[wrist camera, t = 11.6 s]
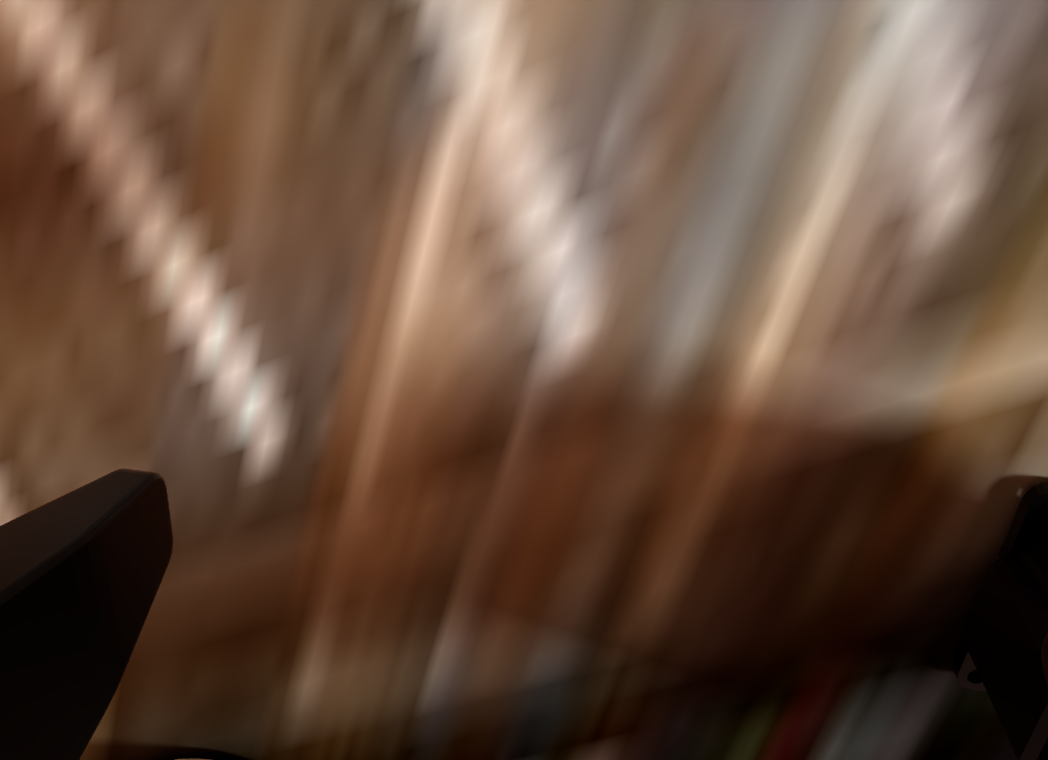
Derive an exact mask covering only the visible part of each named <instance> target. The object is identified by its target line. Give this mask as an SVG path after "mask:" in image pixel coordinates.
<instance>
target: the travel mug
mask: <svg viewBox="0 0 1048 760" xmlns="http://www.w3.org/2000/svg"><path fill="white" fill-rule="evenodd" d="M176 760H211V759H192V758H191V759H176Z"/></svg>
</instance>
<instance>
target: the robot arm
mask: <svg viewBox="0 0 1048 760" xmlns="http://www.w3.org/2000/svg"><path fill="white" fill-rule="evenodd" d="M1046 502H1048V483H1041V484H1038V485H1035V486H1033V487H1032V488H1030V489H1029V490H1028V491H1027V492H1026V493H1025V494H1024V496H1023V497H1022V500H1021V502H1020V505H1019V507H1018V509H1017V512H1016V514H1015V517H1014V519H1013V521H1012V524H1011V526H1010V529H1009V531H1008V533H1007V536H1006V538H1005V541H1004V543H1003V545H1002V548H1001V550H1000V553H999V555H998V557H997V558H996V559H995V560H994V561H993V562H992V563H991V564H990V565H989V568H988V570H987V572H986V575H985V577H984V580H983V582H982V584H981V587H980V589H979V592H978V594H977V597H976V599H975V601H974V604H973V606H972V609H971V611H970V613H969V616H968V618H967V621H966V623H965V626H964V628H963V630H962V639H963V641H962V644H961V646H960V649H959V651H958V653H957V656H956V658H955V661H954V663H953V670H954V673H955V675H956V677H957V679H958V682H959V684H960V685H961V686H963V687H964V688H966V689H970V690H976V691H985V692H987V693H988V695H989V697H990V699H991V702H992V704H993V706H994V708H995V710H996V712H997V715H998V717H999V719H1000V721H1001V723H1002V725H1003V728H1004V730H1005V732H1006V734H1007V736H1008V738H1009V741H1010V743H1011V745H1012V747H1013V749H1014V752H1015V754H1016V756H1017V758H1018V759H1019V760H1048V507H1046V508H1040V507H1041V506H1042V505H1043V504H1044V503H1046ZM172 548H173V533H172V526H171V518H170V510H169V503H168V495H167V488H166V484H165V481H164V479H163V477H162V476H161V475H159V474H158V473H156V472H150V471H141V470H133V469H118V470H116V471H114V472H111V473H109V474H107V475H105V476H103V477H101V478H99V479H97V480H95V481H93V482H91V483H89V484H87V485H84V486H82V487H80V488H78V489H76V490H74V491H72V492H70V493H68V494H66V495H64V496H62V497H60V498H58V499H55V500H53V501H51V502H49V503H47V504H45V505H43V506H41V507H39V508H37V509H35V510H33V511H31V512H28V513H26V514H24V515H22V516H20V517H18V518H16V519H14V520H12V521H10V522H8V523H6V524H4V525H2V526H0V760H79V759H80V757H81V756H82V754H83V752H84V750H85V748H86V746H87V745H88V743H89V741H90V739H91V737H92V735H93V734H94V732H95V730H96V728H97V726H98V725H99V723H100V721H101V719H102V717H103V715H104V713H105V711H106V710H107V708H108V706H109V704H110V702H111V700H112V698H113V696H114V694H115V692H116V690H117V687H118V685H119V683H120V681H121V678H122V676H123V674H124V672H125V669H126V667H127V664H128V662H129V659H130V657H131V654H132V652H133V650H134V647H135V645H136V642H137V640H138V637H139V635H140V632H141V630H142V627H143V625H144V623H145V620H146V618H147V615H148V613H149V610H150V608H151V605H152V603H153V601H154V598H155V596H156V593H157V591H158V588H159V586H160V583H161V581H162V578H163V576H164V574H165V571H166V569H167V566H168V564H169V561H170V558H171V554H172ZM974 670H977V671H975V672H972V671H974Z"/></svg>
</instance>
